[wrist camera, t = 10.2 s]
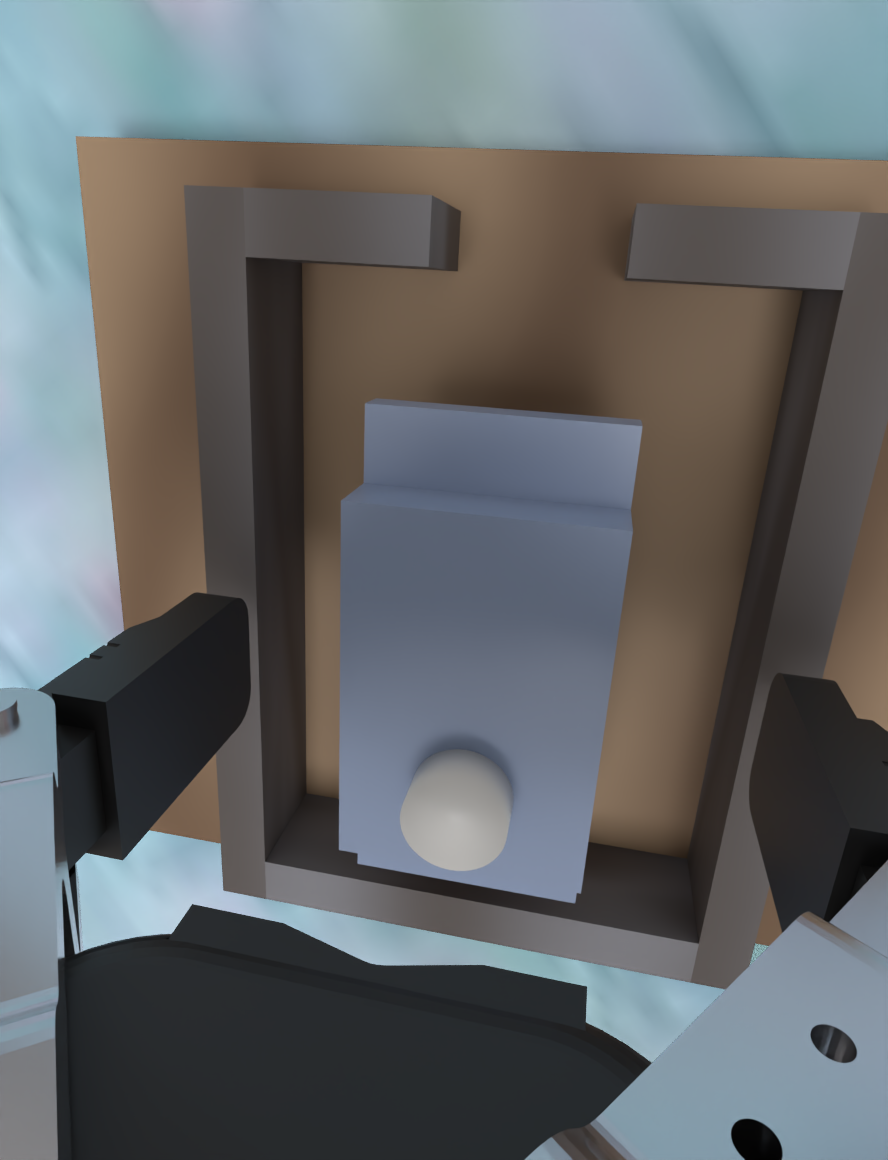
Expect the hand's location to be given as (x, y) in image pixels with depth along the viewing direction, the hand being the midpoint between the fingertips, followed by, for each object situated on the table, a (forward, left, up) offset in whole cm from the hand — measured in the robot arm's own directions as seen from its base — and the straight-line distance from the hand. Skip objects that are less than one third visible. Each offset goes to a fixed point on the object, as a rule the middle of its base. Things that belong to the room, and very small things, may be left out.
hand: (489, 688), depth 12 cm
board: (0, 0, -6) cm, 6 cm away
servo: (0, 0, -5) cm, 5 cm away
